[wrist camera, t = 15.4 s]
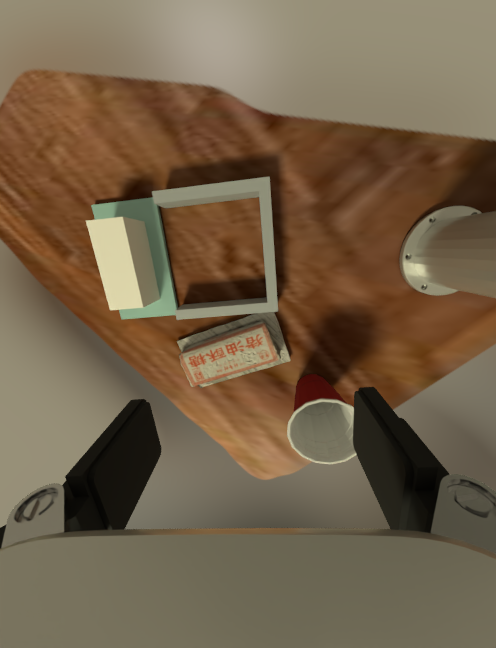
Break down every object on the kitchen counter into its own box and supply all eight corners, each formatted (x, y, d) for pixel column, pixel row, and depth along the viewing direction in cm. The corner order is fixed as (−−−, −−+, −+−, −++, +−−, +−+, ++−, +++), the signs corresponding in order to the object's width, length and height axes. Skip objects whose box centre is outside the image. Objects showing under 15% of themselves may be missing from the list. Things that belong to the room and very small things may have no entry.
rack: (268, 184, 35) (269, 176, 31) (276, 305, 40) (278, 311, 36) (163, 197, 36) (151, 191, 32) (184, 313, 41) (176, 319, 38)
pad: (157, 198, 36) (155, 197, 35) (179, 313, 41) (177, 314, 41) (94, 206, 37) (91, 205, 36) (124, 318, 42) (121, 319, 41)
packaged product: (193, 399, 42) (168, 349, 39) (200, 384, 46) (178, 338, 44) (293, 370, 39) (274, 313, 36) (290, 357, 43) (272, 306, 41)
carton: (144, 221, 36) (122, 216, 31) (160, 299, 40) (143, 307, 34) (113, 224, 37) (85, 220, 31) (131, 301, 40) (110, 310, 35)
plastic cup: (288, 355, 43) (298, 394, 31) (348, 367, 43) (379, 410, 31) (275, 406, 46) (279, 458, 35) (330, 416, 46) (353, 472, 35)
